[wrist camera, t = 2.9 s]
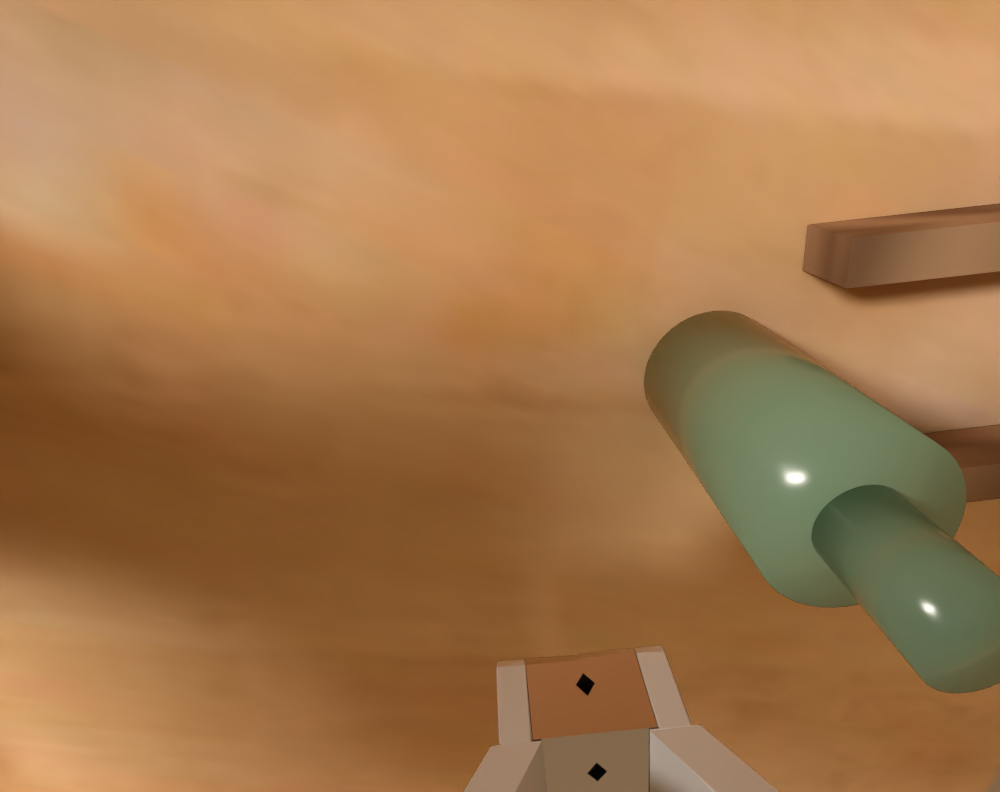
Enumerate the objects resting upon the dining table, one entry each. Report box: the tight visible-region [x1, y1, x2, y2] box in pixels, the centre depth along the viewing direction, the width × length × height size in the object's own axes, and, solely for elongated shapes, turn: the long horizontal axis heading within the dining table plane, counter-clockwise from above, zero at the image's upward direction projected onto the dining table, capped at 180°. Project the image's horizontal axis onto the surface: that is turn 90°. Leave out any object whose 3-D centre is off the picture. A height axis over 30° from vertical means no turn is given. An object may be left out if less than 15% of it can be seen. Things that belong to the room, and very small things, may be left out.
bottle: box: [644, 311, 1000, 693], centre depth 16 cm, size 5×5×12 cm
